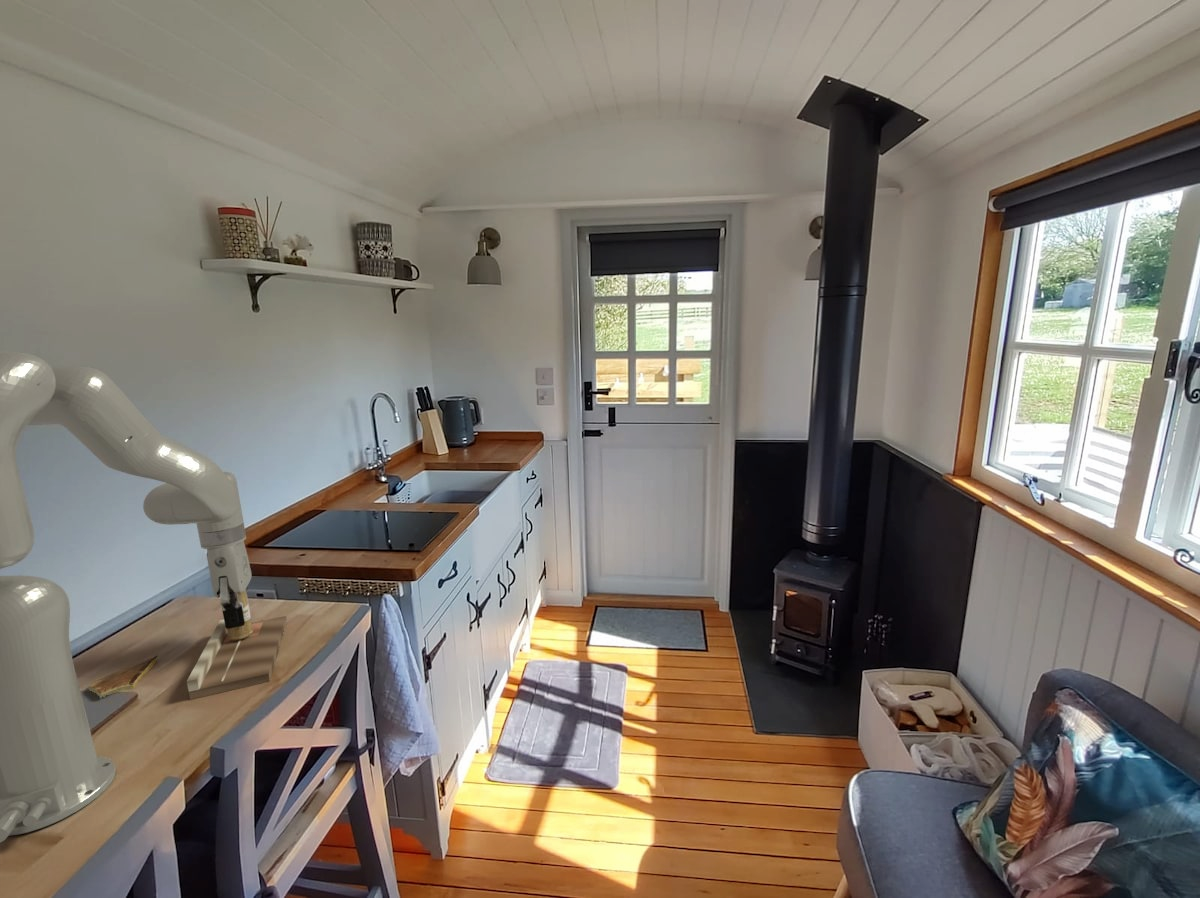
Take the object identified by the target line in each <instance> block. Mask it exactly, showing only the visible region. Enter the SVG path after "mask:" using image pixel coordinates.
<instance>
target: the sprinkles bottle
mask: <svg viewBox="0 0 1200 898" xmlns="http://www.w3.org/2000/svg"><path fill="white" fill-rule="evenodd" d="M219 588H220V587H219ZM233 592H234V591H233V590H230V591H229V593H233ZM238 594H239V603H240V606H242V609H243V615H244V621H245V624H244V625H243V626H240V627H235V628H230V629H227V632H228V639H229V640H239V639H243V638H246V637H248V636H250V635H251V634H252V633H253V628H252V623H253V622H252V619H251V617H252V616H251V610H250V604H249V599H248V594H247V588H246V589H245V591H244V592H243V593H241V594H240V593H238ZM230 599H233V600H234V596H232V597H230ZM234 601H235V600H234Z"/></svg>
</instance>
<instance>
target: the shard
mask: <svg viewBox="0 0 1200 898" xmlns="http://www.w3.org/2000/svg"><path fill="white" fill-rule="evenodd" d="M158 656H159V655H158V654H156V655H155V656H154V657H151V658H148V659H145V660H143V661H141V662H139V663H136V664H132V665H131V666H128V667H126V668H123V669H121V670H117V671H116V672H113V673H112V674H110V675H107V676H105V677H103V678H100V679H98V680H96V681H93V682H91V683H90V684H89V685H88V686H87V688H88V690H89V691H90V692H91V691H92V693H93V692H94V693H93V694H95V693H97V694H98V695H99V696H101V697H102V696H104V695H106V694H109V693H115V692H119V693H122V692H123V693H124V692H126V691H132V690H133V689H134V688H135V686H136V685H137V683H138V682H139V681H140V680H141V679H142V678H143V677H144V676H145V675H146V674H147V673H148V672H149V671H150V670H151V669H152V668H153V667H154V666H155V664H156V661H157V658H158Z"/></svg>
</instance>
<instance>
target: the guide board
mask: <svg viewBox="0 0 1200 898" xmlns="http://www.w3.org/2000/svg"><path fill="white" fill-rule="evenodd" d="M286 620H287V621H288V619H287V616H286V615H285V616H280V617H274V618H270V619H265V620H260V621H259V620H258V621H254V622H251V623H252V628H253V633H252V634H251V635H250V636H248V637H246V638H243V639H239V640H229V639H228V632H227V629H226V627H225V622H224V618H223V619H219V621H218V623H217V625H216V627H215V629H214V630H213V632H212V634H211V636H210V638H209V639H208V641H207V643H206V645H205V647H204V648H203V651H202V652H201V654H200V656H199V657H198V660H197V661H196V664H195V666H194V667H193V669H192V670H191V673H190V675H189V676H188V678H187V679H186V684H187V689H188V695H189V699H190V700H194V699H199V698H204V697H207V696H211V695H216V694H220V693H224V692H228V691H234V690H236V689H242V688H245V687H247V688H248V687H251V686H254V685H258V684H259V685H260V684H263V683H268V682H270V681H271V677H272V674H273V671H274V669H275V664H276V660H277V657H278V654H279V651H280V648H281V645H280V644H282V641H283V638H282V636H283V637H284V634H283V632H284V633H285V631H284V628H285V624H286ZM286 625H287V624H286ZM285 629H286V628H285ZM281 640H282V641H281Z"/></svg>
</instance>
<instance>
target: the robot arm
mask: <svg viewBox="0 0 1200 898" xmlns="http://www.w3.org/2000/svg"><path fill="white" fill-rule="evenodd" d="M44 425H45V426H47V425H49V426H50V425H60V426H62V427H64V428H66V430H67V431H69V432H70V434H72V435H73V436H74V437H75V438H76V439H77V440H78V441H79V442H80V443H81V444H83V446H85V447H86V449H88V450H89V451H90V452H91V453H92V454H93V455H94V456H95V457H96V458H97V459H98V460H99V461H100V462H101V463H102V464H104V466H106V467H108V468H109V469H112V470H115V471H118V472H121V473H124V474H127V475H131V476H135V477H141V478H145V479H150V480H154V481H159V482H162V484H160V485H158V486H156V487H154V488H153V489H151V490H150V491H149V492H148V493H147V495H146V496H145V498H144V500H143V504H142V507H143V512H144V514H145V516H146V517H147V519H149V520H151V521H152V522H154V523H156V524H161V525H172V526H173V525H174V526H175V525H191V524H196V527H197V528H196V529H197V533H198V538H199V539H198V540H199V545H200V548H201V549H204V550H207V551H206V552H207V553H206V554H207V561H208V569H209V570H208V571H209V576H210V583H211V587H212V591H213V592H212V593H213V595H214V597H216V598H219V604H220V606H221V611H222V617H223V619H224V622H225V627H226V629H230V628H235V627H240V626H243V625H244V624H245V621H244V615H243V609H242V606H240V603H239V594H238V593H240V594H241V593H243V592H244V591H245V589H246V590H247V587H248V586H249V584H250V582H251V580H252V570H251V565H250V560H249V555H248V552H247V551H248V550H247V548H246V544H245V540H247V534H246V528H245V527H246V526H245V523H244V516H243V512H242V511H243V510H242V504H241V499H240V494H239V488H238V482H237V478H236V476H235V474H233V473H232V472H228V471H223V470H222V469H221V468H220V467H219V465H217V464H216V463H215V462H214V461H212V460H211V459H210V458H208V456H205V455H203V454H202V453H200V452H198V451H197V450H194V449H193V448H190V447H189V446H186V445H185V444H183V443H181V442H179V441H176V440H174V439H172V438H170V437H168V436H166V435H163V434H162V433H160V432H159V431H158V430H157V429H156V428H155V427H154V426H153V424H152V423H151V422H150V421H149V420H148V419H147V418H146V417H145V416H144V415H143V414H142V412H141V411H140V410H139V409H138V408H137V407H136V405H135V404H133V402H132V401H131V399H129V397H128V396H127V395H126V394H125V393H124V392H123V391H122V390H121V389H120V388H119V386H118V385H117V384H116V383H115V382H114V381H113V380H112V379H111V378H110V377H109V376H108V375H107V374H106V373H105V372H103V371H101V370H100V369H97V368H93V367H89V366H84V365H83V366H82V365H60V366H59V365H56V366H51V365H50V364H49V363H48V362H47V361H45V360H44V359H42V358H41V357H38V356H36V355H34V354H31V353H27V352H20V351H10V350H0V570H2V569H5V568H9V567H13V566H14V565H16V564H18V563H20V562H21V561H22V560H24V559H25V558H26V557H27V556H28V555H29V554H30V553H31V551H32V549H33V547H34V542H35V541H34V540H35V531H34V525H33V521H32V517H31V514H30V509H29V506H28V502H27V498H26V495H25V490H24V487H23V483H22V480H21V475H20V471H19V466H18V460H17V448H18V443H19V441H20V438H21V436H22V433H23V432H24V430H25V429H26V428H27V426H44ZM219 587H220V588H219ZM230 590H233V591H234V592H233V593H229V591H230ZM232 596H234V600H235V601H234V600H233V599H230V597H232ZM70 619H71V606H70V600H69V596H68V594H67V592H66V591H65V589H64V588H62V587H61V586H60V585H59V584H58V583H56V582H54V581H52V580H49V579H47V578H45V577H44V578H43V577H41V576H33V575H18V574H17V575H0V843H2V842H4V841H5V840H6V839H7V838H8V837H9V836H17V835H22V834H27V833H30V832H31V833H32V832H33V831H37V830H39V829H43V828H45V827H47V826H50V825H53V824H55V823H57V822H59V821H62V820H63V819H65V818H68V817H69V816H71V815H73V814H74V813H76V812H79V811H80V810H81V809H83V808H84V807H86V806H87V805H89V804H90V803H91V802H92V801H94V800H95V799H97V798H98V797H99V796H100V795H101V794H103V792H104V791H105V790H106V789H107V788H108V787H109V786H110V785H111V783H112V782H113V780H114V779H115V776H116V774H117V773H116V772H117V771H116V765H115V763H114V761H113V760H112V759H111V758H109V757H106V756H100V755H97V753H96V748H95V744H94V740H93V735H92V733H91V728H90V724H89V721H88V716H87V712H86V709H85V704H84V700H83V695H82V691H81V689H80V685H79V680H78V676H77V673H76V670H75V665H74V660H73V656H72V650H71V648H72V647H71V642H70V621H71V620H70Z"/></svg>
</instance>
